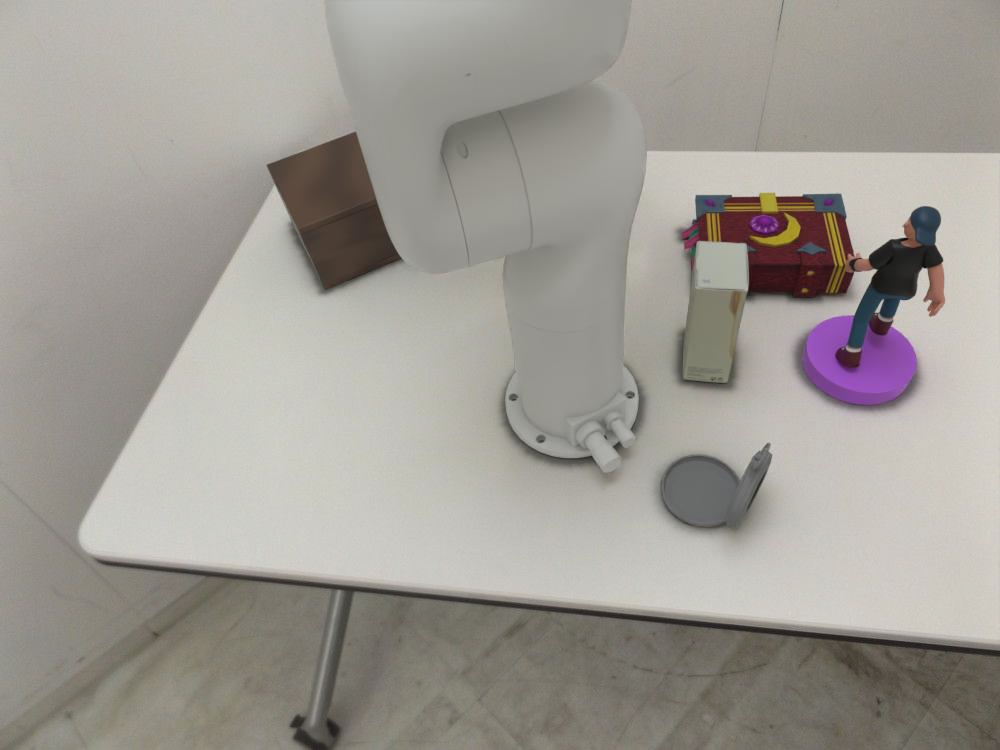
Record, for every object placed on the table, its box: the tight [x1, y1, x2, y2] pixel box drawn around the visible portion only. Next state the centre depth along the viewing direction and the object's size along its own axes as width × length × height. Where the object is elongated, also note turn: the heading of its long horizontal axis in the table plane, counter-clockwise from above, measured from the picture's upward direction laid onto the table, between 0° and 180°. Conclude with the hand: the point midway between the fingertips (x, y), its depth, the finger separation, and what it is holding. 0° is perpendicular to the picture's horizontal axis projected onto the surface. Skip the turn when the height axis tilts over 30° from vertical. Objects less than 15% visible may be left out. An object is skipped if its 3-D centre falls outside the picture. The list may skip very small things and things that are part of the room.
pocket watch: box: [660, 442, 773, 529], centre depth 54 cm, size 8×8×10 cm
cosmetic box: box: [682, 241, 749, 384], centre depth 63 cm, size 6×4×12 cm
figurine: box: [801, 205, 946, 406], centre depth 58 cm, size 9×9×18 cm
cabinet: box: [266, 131, 402, 291], centre depth 82 cm, size 15×14×9 cm
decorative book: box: [681, 192, 856, 298], centre depth 73 cm, size 11×16×5 cm
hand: (465, 158), depth 85 cm, fingers closed
